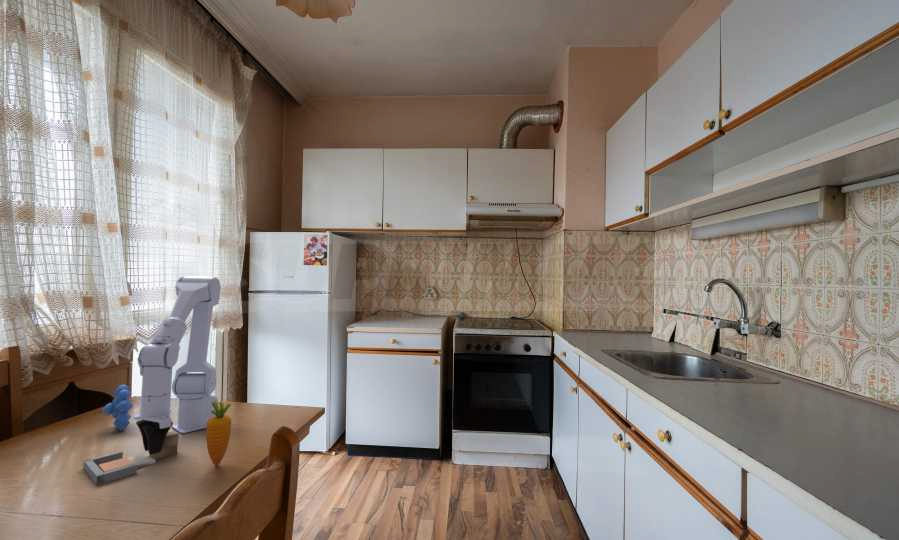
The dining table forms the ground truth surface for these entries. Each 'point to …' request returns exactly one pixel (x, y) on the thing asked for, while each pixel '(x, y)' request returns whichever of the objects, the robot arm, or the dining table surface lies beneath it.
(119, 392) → the grapes
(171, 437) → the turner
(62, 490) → the dining table surface
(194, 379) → the robot arm
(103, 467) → the tile
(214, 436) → the carrot
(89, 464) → the bay
